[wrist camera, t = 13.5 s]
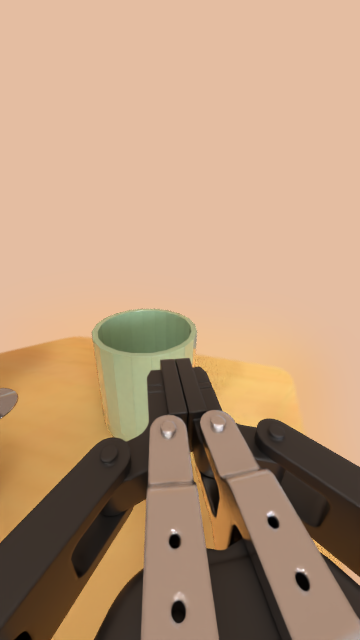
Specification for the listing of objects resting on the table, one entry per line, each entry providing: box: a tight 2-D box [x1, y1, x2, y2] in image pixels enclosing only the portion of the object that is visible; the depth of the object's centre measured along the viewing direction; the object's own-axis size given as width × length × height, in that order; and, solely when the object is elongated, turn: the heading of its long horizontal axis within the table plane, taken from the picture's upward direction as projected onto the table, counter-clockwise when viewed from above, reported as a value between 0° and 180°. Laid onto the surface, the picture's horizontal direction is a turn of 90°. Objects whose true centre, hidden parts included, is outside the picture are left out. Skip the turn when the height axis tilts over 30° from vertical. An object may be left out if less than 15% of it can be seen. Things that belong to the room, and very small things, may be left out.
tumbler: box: [92, 309, 197, 441], centre depth 28 cm, size 11×11×12 cm
